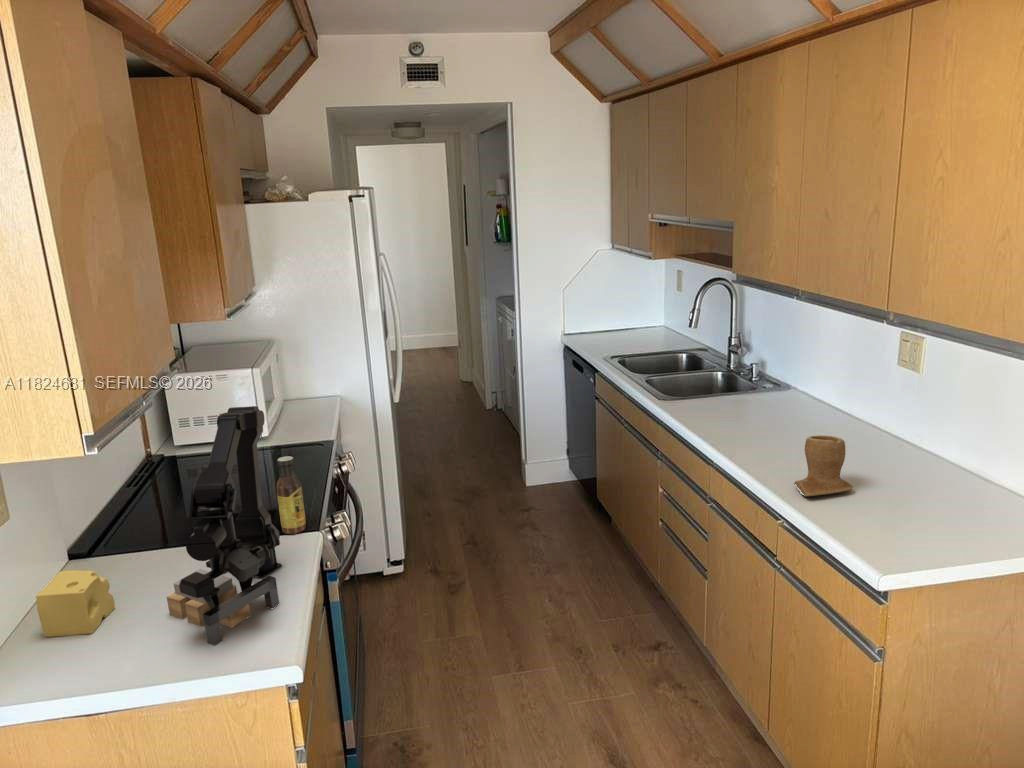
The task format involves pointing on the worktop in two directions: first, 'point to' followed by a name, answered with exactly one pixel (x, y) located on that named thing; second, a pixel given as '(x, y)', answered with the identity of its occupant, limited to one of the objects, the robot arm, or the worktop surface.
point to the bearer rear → (177, 605)
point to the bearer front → (204, 607)
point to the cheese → (74, 603)
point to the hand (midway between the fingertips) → (232, 605)
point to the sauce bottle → (290, 498)
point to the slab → (222, 583)
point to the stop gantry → (239, 606)
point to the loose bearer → (236, 617)
